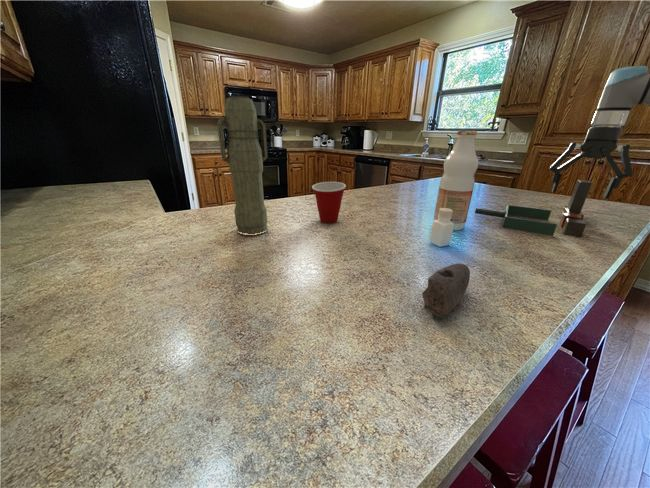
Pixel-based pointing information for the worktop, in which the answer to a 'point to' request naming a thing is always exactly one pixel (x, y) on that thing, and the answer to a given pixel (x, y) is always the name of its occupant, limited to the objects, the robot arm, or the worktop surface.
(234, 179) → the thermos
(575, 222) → the crumb block
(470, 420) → the worktop surface
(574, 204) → the brush
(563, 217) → the crumb block
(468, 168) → the fruit juice
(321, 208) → the plastic cup
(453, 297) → the perforated stone tool
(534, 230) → the dustpan
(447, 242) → the pepper shaker
